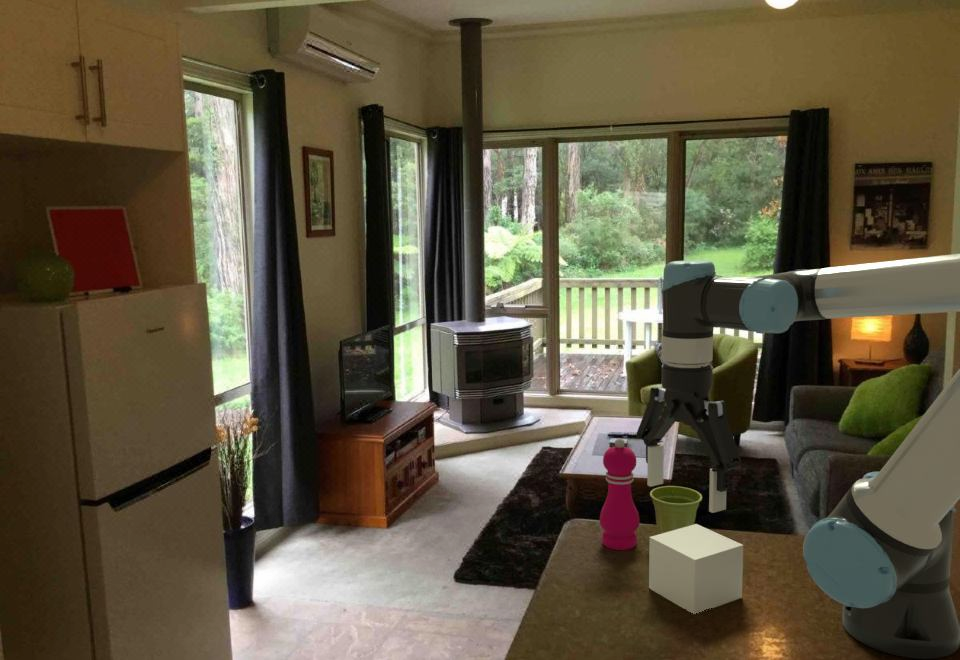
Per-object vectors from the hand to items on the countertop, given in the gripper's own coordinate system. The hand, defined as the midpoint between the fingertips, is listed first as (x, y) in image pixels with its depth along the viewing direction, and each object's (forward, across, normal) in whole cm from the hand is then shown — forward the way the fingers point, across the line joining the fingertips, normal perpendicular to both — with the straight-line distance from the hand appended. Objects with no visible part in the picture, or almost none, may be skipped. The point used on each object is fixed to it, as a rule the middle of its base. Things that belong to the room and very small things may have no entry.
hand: (685, 497), depth 127 cm
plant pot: (+17, +18, -15) cm, 29 cm away
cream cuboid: (+17, 0, -3) cm, 17 cm away
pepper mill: (+17, +22, -5) cm, 28 cm away
